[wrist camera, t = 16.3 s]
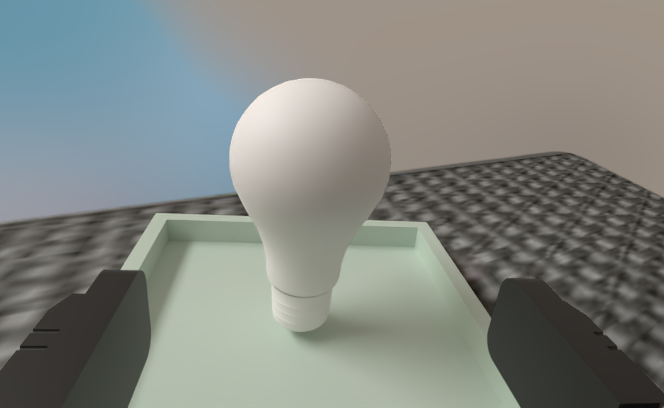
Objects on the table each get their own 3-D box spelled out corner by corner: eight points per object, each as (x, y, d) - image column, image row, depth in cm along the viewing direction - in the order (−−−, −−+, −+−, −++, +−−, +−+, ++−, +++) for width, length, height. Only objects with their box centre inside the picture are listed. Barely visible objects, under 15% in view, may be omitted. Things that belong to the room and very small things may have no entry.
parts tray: (421, 246, 29) (426, 222, 28) (577, 511, 14) (596, 473, 13) (158, 239, 27) (156, 213, 26) (-10, 545, 11) (-27, 502, 11)
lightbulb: (250, 281, 23) (253, 62, 18) (366, 295, 22) (397, 76, 18) (211, 367, 17) (202, 82, 13) (365, 386, 17) (409, 102, 12)
